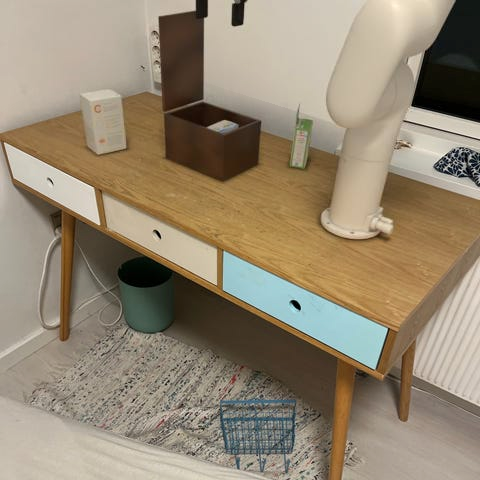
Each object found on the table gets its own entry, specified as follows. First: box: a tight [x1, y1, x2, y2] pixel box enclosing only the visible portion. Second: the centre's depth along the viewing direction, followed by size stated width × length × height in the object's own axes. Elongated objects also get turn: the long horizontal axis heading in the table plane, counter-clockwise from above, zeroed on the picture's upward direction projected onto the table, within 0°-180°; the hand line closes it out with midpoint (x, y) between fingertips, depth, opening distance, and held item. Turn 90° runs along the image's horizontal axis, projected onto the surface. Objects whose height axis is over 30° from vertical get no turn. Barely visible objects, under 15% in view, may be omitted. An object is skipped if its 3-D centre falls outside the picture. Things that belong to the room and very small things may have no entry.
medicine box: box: [207, 120, 239, 134], centre depth 121 cm, size 8×4×9 cm, turn 144°
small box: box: [79, 88, 127, 156], centre depth 124 cm, size 8×6×13 cm
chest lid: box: [157, 9, 205, 113], centre depth 116 cm, size 19×14×1 cm
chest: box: [163, 100, 262, 182], centre depth 122 cm, size 19×14×11 cm
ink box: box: [289, 103, 314, 170], centre depth 123 cm, size 7×4×13 cm, turn 168°
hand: (219, 21), depth 105 cm, fingers open, 9 cm apart
